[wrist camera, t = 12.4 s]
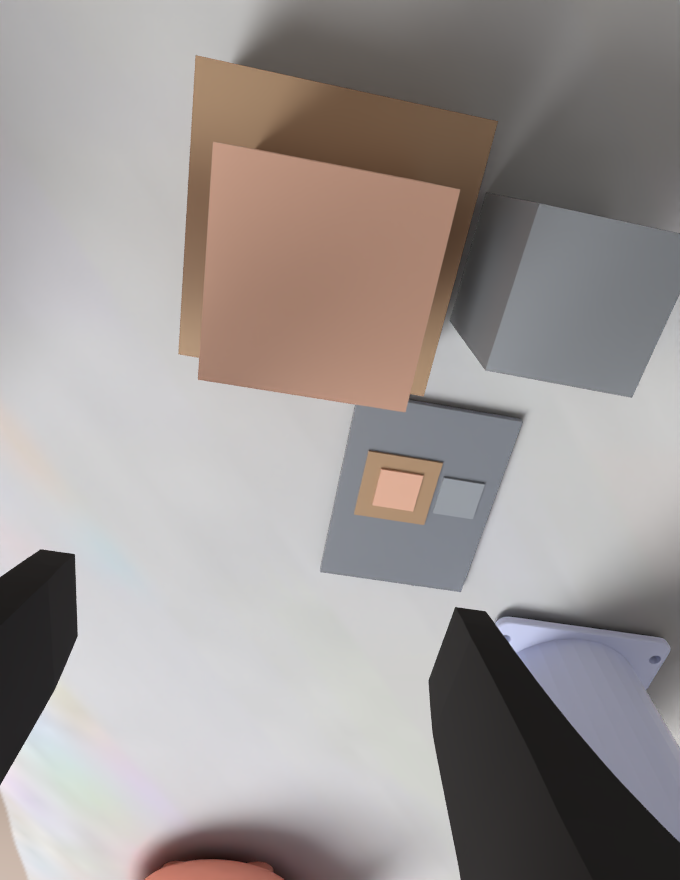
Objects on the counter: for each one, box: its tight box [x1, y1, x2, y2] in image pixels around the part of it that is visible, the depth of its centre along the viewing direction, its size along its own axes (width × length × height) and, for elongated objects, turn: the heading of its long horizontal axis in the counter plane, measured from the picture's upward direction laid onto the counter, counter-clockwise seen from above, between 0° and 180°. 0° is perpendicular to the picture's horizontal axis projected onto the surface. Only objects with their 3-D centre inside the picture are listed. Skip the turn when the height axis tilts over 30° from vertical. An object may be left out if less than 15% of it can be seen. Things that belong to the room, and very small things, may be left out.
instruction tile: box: [320, 400, 523, 592], centre depth 21 cm, size 8×6×1 cm
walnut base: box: [179, 55, 498, 396], centre depth 16 cm, size 7×7×4 cm
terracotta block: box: [198, 142, 460, 412], centre depth 12 cm, size 4×4×5 cm
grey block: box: [450, 193, 680, 398], centre depth 16 cm, size 4×4×5 cm
